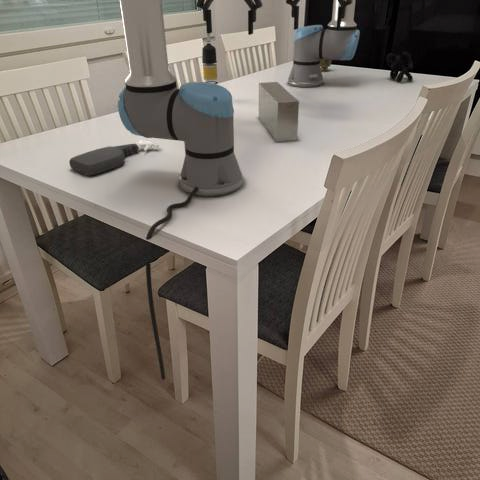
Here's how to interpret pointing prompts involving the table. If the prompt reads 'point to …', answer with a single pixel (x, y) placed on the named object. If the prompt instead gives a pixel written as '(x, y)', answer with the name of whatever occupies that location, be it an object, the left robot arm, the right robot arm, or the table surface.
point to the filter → (209, 61)
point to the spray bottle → (106, 157)
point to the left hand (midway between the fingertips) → (229, 33)
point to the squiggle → (399, 66)
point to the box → (278, 111)
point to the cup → (325, 64)
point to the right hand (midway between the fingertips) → (316, 29)
